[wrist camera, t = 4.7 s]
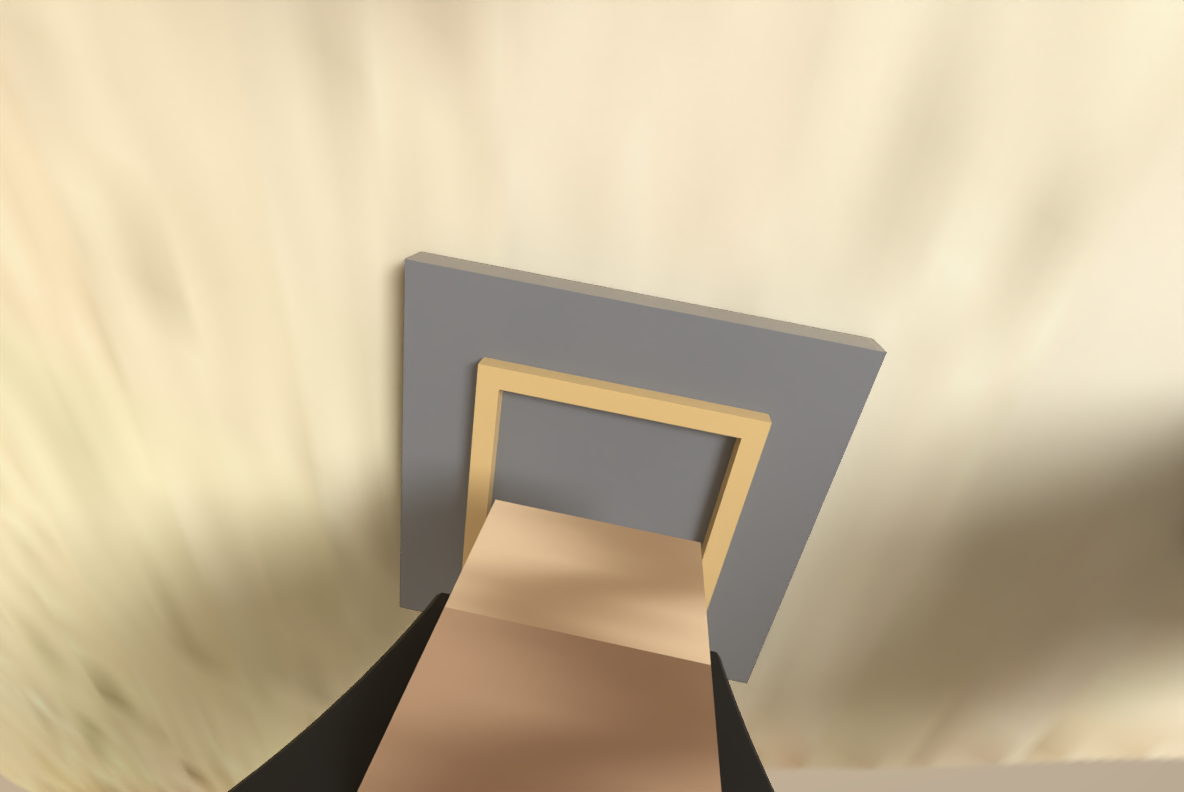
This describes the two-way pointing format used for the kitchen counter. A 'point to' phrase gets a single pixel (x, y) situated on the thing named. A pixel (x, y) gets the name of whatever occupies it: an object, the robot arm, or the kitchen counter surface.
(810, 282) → the kitchen counter surface
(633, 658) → the tan wooden block
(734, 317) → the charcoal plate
